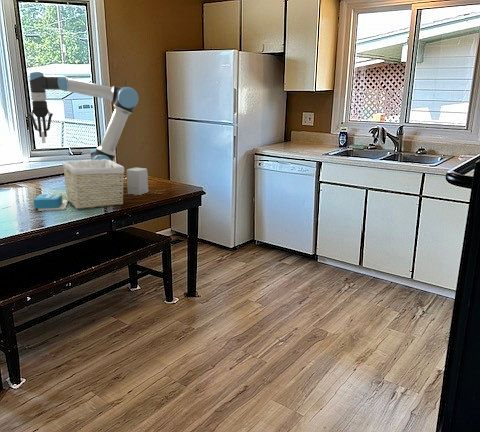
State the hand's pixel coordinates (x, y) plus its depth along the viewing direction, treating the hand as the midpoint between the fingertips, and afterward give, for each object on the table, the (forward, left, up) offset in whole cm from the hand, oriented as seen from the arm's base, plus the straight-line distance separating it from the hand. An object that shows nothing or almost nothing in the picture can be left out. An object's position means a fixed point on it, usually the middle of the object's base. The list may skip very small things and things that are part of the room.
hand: (44, 142), depth 255 cm
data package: (+2, +32, -27) cm, 42 cm away
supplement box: (-51, +14, -30) cm, 61 cm away
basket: (-27, +30, -29) cm, 50 cm away
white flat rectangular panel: (-6, +32, -29) cm, 44 cm away
